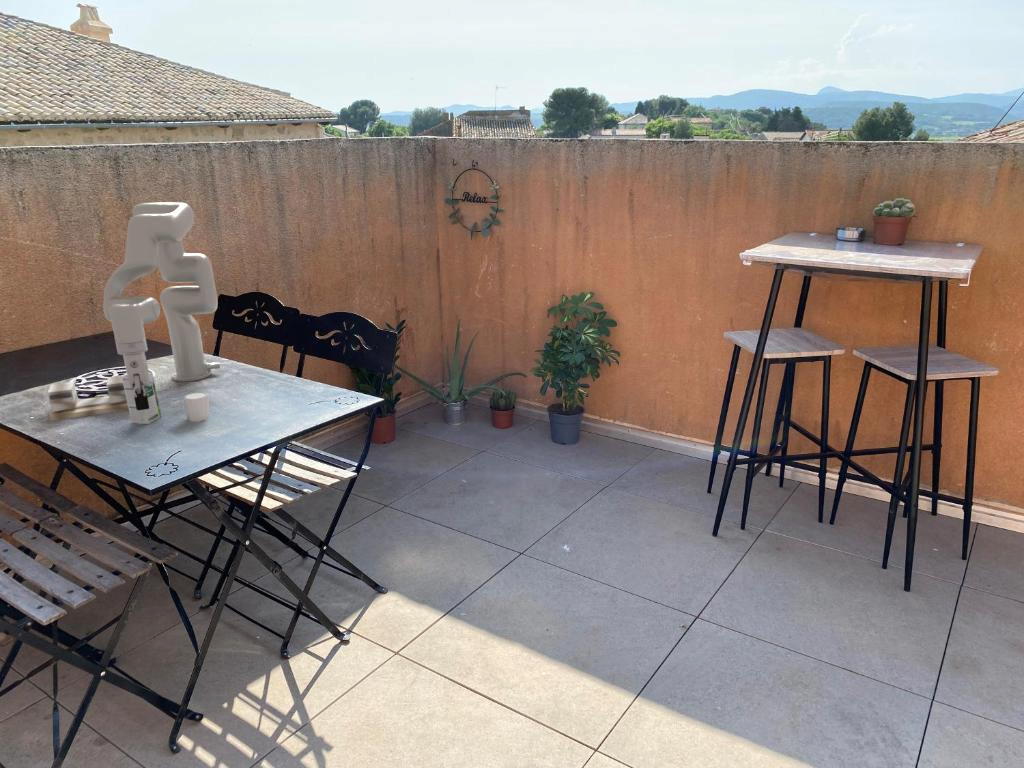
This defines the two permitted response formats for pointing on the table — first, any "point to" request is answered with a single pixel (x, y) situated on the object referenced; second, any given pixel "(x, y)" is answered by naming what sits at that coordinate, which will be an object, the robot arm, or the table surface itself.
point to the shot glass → (197, 406)
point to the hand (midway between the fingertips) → (143, 404)
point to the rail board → (85, 400)
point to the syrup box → (154, 409)
